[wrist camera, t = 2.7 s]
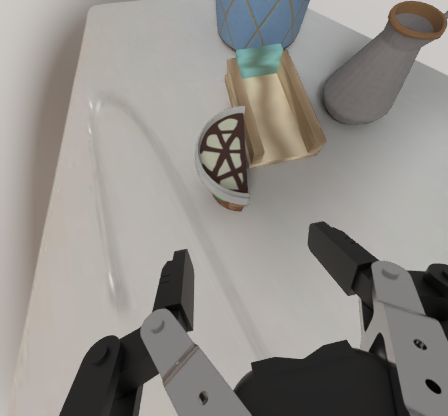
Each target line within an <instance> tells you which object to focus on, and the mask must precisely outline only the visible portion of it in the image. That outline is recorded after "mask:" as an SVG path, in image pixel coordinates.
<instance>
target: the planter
mask: <svg viewBox="0 0 448 416" xmlns="http://www.w3.org/2000/svg"><path fill="white" fill-rule="evenodd" d="M309 1H310V0H216V14H217V26H218V32H219V35H220V37H221V38H222V40H223V41H224V42H225V43H226V44H227V45H228V46H230V47H231V48H233V49H234V50H241V49H247V48H254V47H260V46H267V45H273V44H280V43H281V46H282V48H285V47H287V46H288V45H290V44H291V43H292V42H293V41H294V39H295V38H296V36H297V34H298V32H299V29H300V27H301V24H302V21H303V18H304V15H305V13H306V10H307V7H308V4H309Z"/></svg>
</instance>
